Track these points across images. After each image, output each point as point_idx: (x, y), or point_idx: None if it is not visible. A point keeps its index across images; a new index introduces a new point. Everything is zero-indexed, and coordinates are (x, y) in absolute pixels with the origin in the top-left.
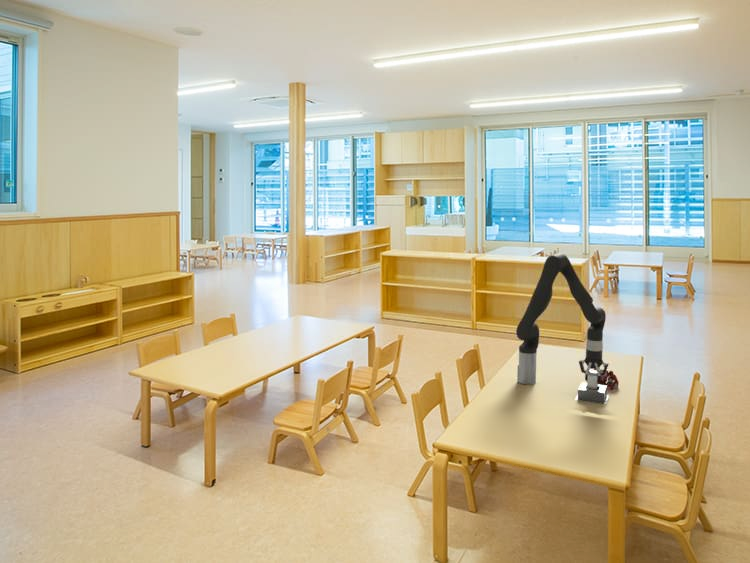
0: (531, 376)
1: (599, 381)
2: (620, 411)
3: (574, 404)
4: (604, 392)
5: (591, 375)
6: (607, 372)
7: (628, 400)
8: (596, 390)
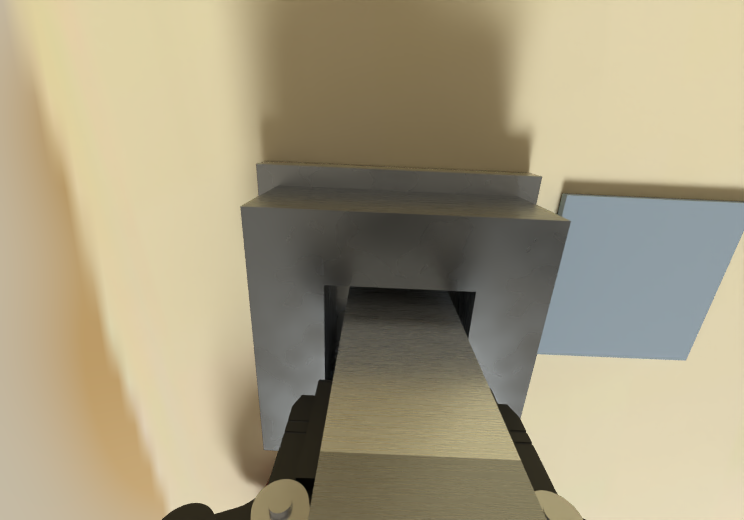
0: None
1: (304, 403)
2: (128, 102)
3: (536, 120)
4: (244, 236)
5: (441, 459)
6: None
7: (147, 370)
8: (344, 270)
